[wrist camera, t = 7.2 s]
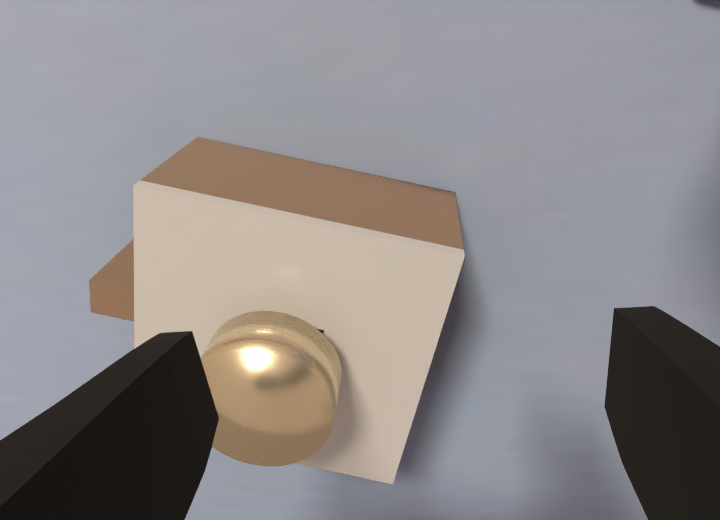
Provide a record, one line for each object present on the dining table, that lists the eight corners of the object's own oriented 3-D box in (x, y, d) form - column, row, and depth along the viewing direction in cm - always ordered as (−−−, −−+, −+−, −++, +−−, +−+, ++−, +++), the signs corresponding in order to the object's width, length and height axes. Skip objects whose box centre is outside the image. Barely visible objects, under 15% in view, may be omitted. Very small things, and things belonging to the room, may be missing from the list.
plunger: (367, 252, 19) (345, 369, 14) (347, 343, 21) (320, 479, 16) (255, 228, 19) (186, 335, 14) (244, 321, 21) (181, 449, 16)
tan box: (455, 192, 19) (464, 256, 15) (397, 390, 23) (392, 484, 19) (146, 126, 19) (67, 171, 15) (144, 336, 23) (83, 418, 19)
